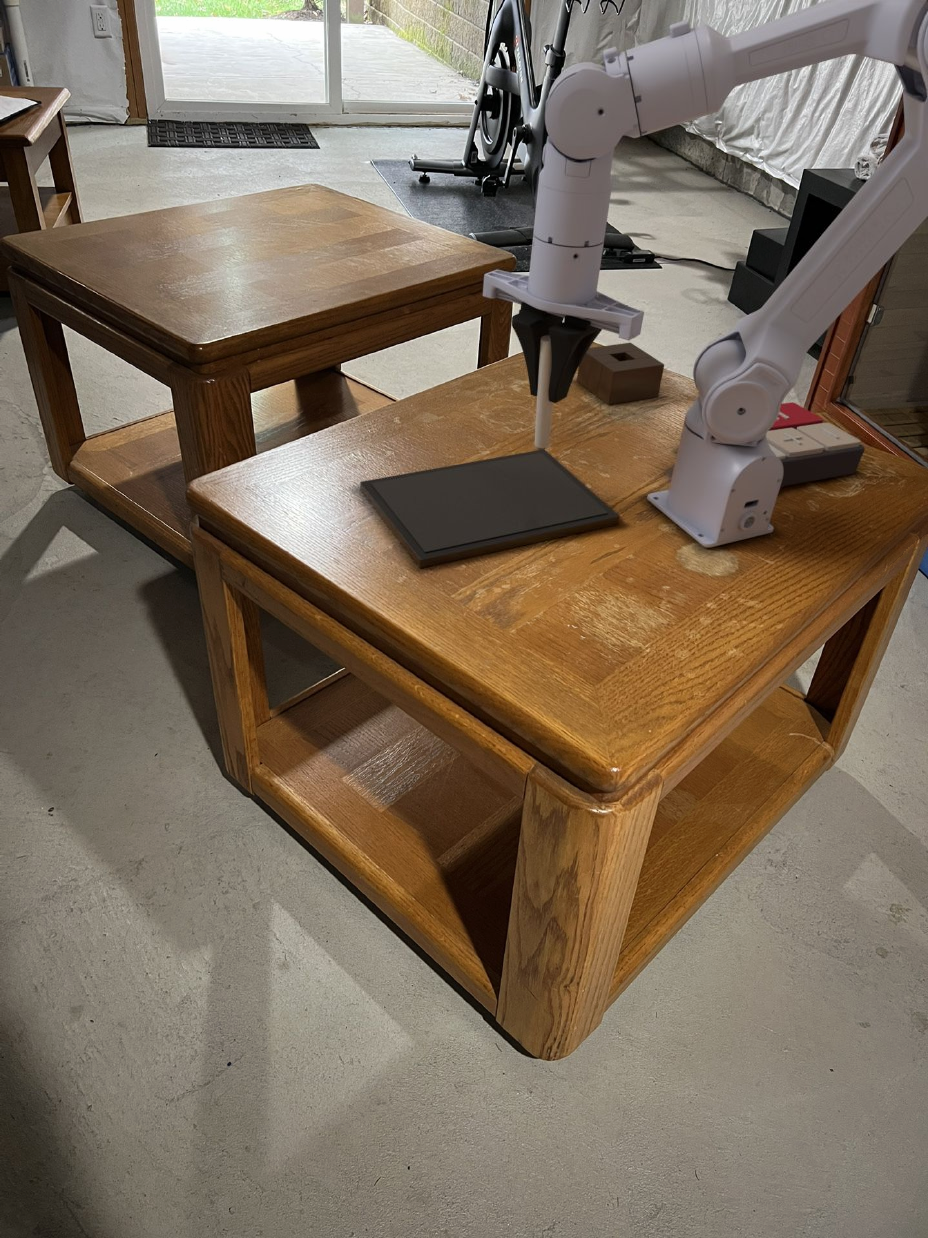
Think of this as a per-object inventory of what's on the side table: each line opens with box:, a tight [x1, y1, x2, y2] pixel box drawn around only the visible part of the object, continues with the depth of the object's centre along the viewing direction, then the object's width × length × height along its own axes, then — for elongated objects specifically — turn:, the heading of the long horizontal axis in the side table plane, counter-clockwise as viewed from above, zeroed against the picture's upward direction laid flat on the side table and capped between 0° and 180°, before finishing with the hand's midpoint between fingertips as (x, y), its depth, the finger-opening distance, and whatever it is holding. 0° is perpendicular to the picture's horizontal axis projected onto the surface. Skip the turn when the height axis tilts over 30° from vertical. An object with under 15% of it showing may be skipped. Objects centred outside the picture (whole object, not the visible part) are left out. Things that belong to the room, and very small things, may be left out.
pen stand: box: [576, 342, 665, 406], centre depth 109 cm, size 7×7×4 cm
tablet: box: [359, 449, 621, 569], centre depth 87 cm, size 14×20×1 cm
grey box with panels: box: [766, 402, 866, 490], centre depth 97 cm, size 11×4×15 cm
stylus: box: [533, 335, 554, 451], centre depth 83 cm, size 1×1×11 cm
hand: (548, 395), depth 83 cm, fingers closed on stylus, 1 cm apart
